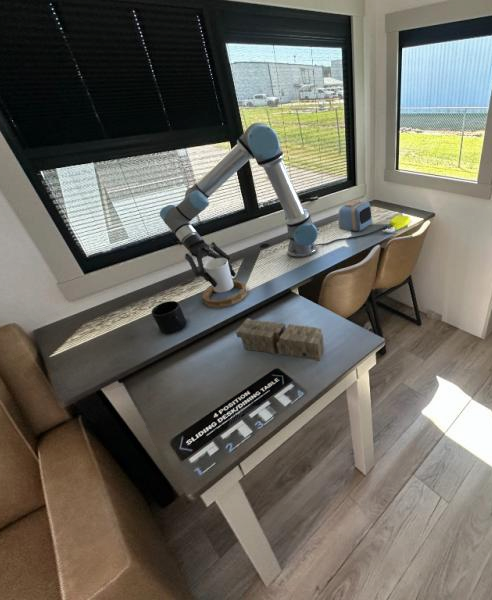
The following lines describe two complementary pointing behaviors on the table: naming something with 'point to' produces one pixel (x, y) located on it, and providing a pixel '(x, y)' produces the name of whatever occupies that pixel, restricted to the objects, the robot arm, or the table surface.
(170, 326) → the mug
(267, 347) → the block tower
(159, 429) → the table surface
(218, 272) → the white cup
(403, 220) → the spray bottle
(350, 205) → the alarm clock
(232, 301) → the stand
